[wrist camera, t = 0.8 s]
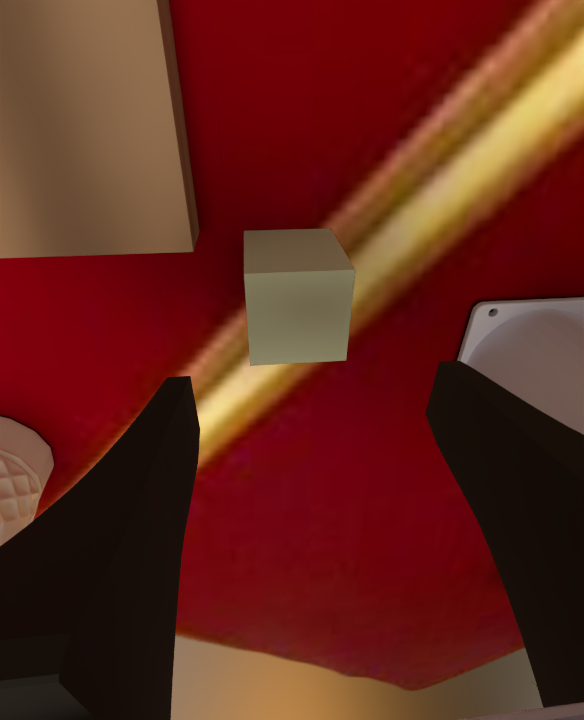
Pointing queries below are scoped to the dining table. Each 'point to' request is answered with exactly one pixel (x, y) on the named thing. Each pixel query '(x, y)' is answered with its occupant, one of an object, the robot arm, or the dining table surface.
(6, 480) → the white cup
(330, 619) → the dining table surface
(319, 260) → the green block
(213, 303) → the dining table surface
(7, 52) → the walnut base
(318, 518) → the dining table surface
